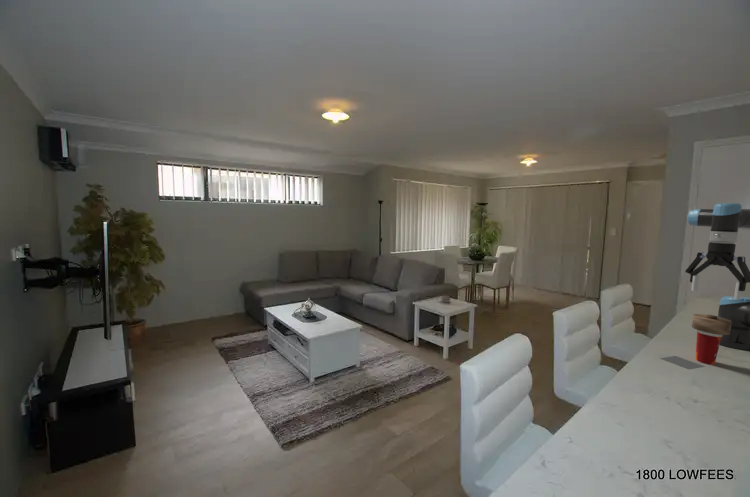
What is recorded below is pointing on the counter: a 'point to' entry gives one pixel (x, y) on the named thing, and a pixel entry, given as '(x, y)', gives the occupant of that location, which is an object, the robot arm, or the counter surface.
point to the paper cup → (707, 347)
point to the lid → (711, 324)
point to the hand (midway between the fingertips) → (714, 294)
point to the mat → (682, 362)
